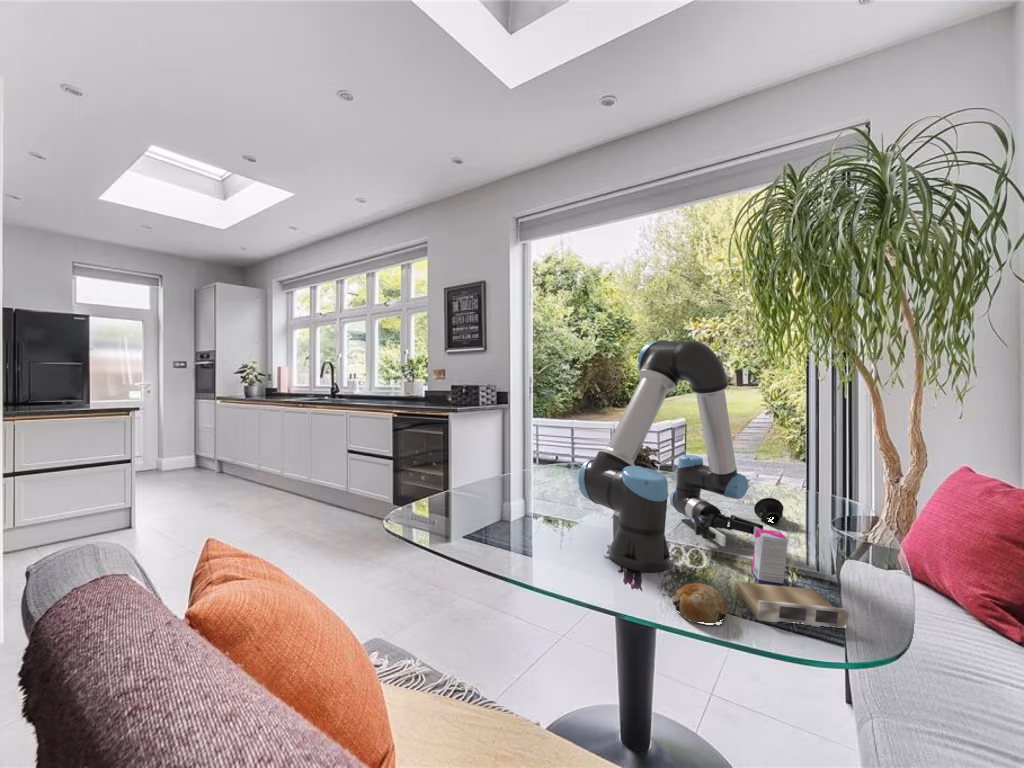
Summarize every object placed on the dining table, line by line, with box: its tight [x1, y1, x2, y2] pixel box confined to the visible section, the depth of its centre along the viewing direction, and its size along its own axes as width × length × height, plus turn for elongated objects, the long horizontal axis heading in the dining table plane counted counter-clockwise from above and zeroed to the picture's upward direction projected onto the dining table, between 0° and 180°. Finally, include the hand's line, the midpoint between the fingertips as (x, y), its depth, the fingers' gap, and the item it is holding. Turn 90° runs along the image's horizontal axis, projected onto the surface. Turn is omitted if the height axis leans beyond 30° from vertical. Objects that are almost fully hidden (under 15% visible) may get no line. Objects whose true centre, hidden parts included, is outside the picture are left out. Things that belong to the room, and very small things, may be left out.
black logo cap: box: [753, 497, 784, 525], centre depth 165 cm, size 9×11×18 cm
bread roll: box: [671, 582, 728, 623], centre depth 100 cm, size 10×10×8 cm
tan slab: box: [735, 581, 849, 628], centre depth 104 cm, size 17×13×4 cm
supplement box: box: [751, 528, 789, 586], centre depth 118 cm, size 6×6×12 cm
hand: (747, 541), depth 126 cm, fingers open, 13 cm apart
